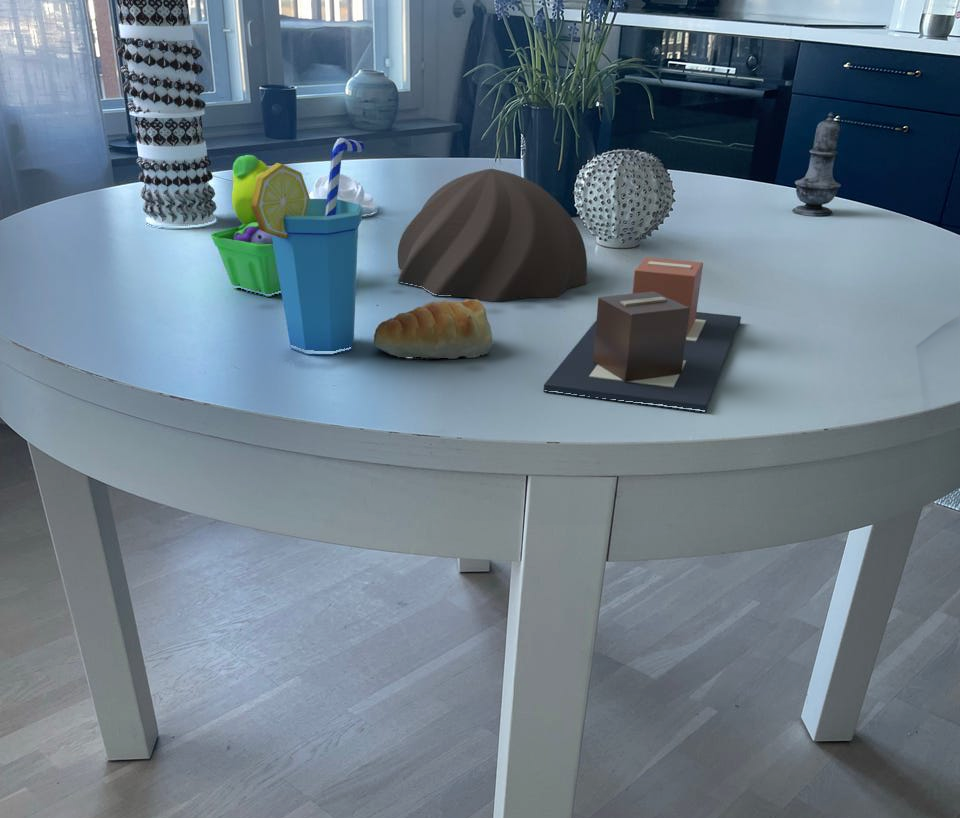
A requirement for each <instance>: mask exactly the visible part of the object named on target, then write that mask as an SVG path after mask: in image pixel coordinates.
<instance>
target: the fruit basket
mask: <svg viewBox="0 0 960 818" xmlns="http://www.w3.org/2000/svg"><path fill="white" fill-rule="evenodd" d="M269 168H270V167H269V166H268V165H267V164H266V163H265V162H263V160H260V159H258V157H257V156H255V155H252V154H245V155H241V156H238V157H237V158H235V160H234V162H233V164H232V184H233V185H232V191H231V203H232V208H233V211H234V214H235V215H236V217H237V218H238V220H239V221H240V222H241V225H239V226H238V225H237V226H234V227H231V228H226V229H223V230H219V231H216V232H215V231H214V232H212V233H210V238H211V239H212V241H213V244H214V246H215V247H216V248H217V251H218V254H219V255H220V258H221V261H222V263H223V265H224V266H223V267H224V268H225V271H226V274H227V276H228V279H229V281H230V283H231V286H232V285H234V286H241V287H243V288H247V289H251V290H254V291H259V292H262V293H265V294H272V293H275V292H278V291H281V288H280V282H279V276H278V270H277V264H276V258H275V252H274V246H273V241H272V235H271V234H269V233H266V232H264V231H261V230H260V228H259V225H258V222H257V220H256V217H255V215H254V212H253V209H252V207H251V203H252V198H253V194H254V190H255V186H256V181H257V177H258V176H259V175H261V174H262V173H263V172H265V171H266V170H267V169H269ZM234 290H238V289H237V288H234ZM246 292H247V293H249V292H248V291H246ZM250 293H251V294H253V293H252V292H250ZM254 294H255V295H257V294H256V293H254ZM259 295H262V294H259ZM279 295H282V293H280V294H277V295H276V296H279ZM262 296H263V295H262ZM274 296H275V295H273V296H265V297H267V298H270V297H274Z"/></svg>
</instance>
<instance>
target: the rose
mask: <svg viewBox="0 0 960 818" xmlns="http://www.w3.org/2000/svg"><path fill="white" fill-rule="evenodd" d="M329 175H330V174H326V175H324V176H320V177H319V178H317V179H316V181H315V183H314V184H313V187H312V190H311V191H310V193H308V194H309V197H310V199H327V194H328V184H329ZM337 199H338V200H342V201H347V202H351V203H355V204H359V205H361V206H362V215H364V214H371V213H373V212H376V211H377V212H378V209H379V205H378V204H377V203H376V202H373V195H371V194H369V193H367V192H365V190H364V187H363V185H362V184H361V183H360V182H359V181H358V180H357V179H356V178H354V177H353V178H352V177H351V176H348V175H346V174H342V173H340V178H339V187H338V196H337ZM377 212H376V213H374V214H372V215H368V216H362V218H365V217H371V216H374V215H376V214H377Z"/></svg>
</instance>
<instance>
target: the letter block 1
mask: <svg viewBox="0 0 960 818" xmlns="http://www.w3.org/2000/svg"><path fill="white" fill-rule="evenodd" d="M703 267H704V262H703V261H702V262H701V261H693V260H692V261H690V260H680V259H671V258H670V259H669V258H658V257H650V256H649V257H648V256H646V257H644V258H643V260H642V261H641V262H640V263H639V265H638V266H637V267H636V268H635V269H634V274H633V282H632V293H631V294H633V293H643V292H653V291H654V292H657V293H659V294H661V295H663V296H665V297H667V298H669V299H672V300H674V301H676V302H678V303H680V304H682V305H684V306H686V307H689V308H690V313H689V320H688V328H687V335H688V334H689V332H690V330H691V328H692V326H693V324H694V322H695V319H696V312H698V304H699V297H700V296H699V295H700V290H701V282H702V274H703ZM687 335H686V337H687Z"/></svg>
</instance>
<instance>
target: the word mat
mask: <svg viewBox="0 0 960 818" xmlns="http://www.w3.org/2000/svg"><path fill="white" fill-rule="evenodd" d="M741 320H742V316H740V315H730V314H722V313H711V312H701V311H697V312H696V319H695V322H694V324H693V326H692V328H691V330H690V332H689V334H688V335H687V337H686V343H685V350H684V358H683V365H682V373H681V374H677V375H670V376H662V377H655V378H648V379H640V380H633V381H624V380H622V379H620V378H619V377H617V376H616V375H614V374H612V373H611V372H609V371H608V370H606V369H604V368H603V367H601V366H599V365H598V364H596V363H595V362H593V356H594V344H595V332H596V320H595V321H594V322H593V324H592V325H591V326H590V327H589V329H588V330H587V331H586V332H585V334H583V336H582V337H581V338H580V339H579V341H577V343H576V345H575V346H574V347H573V348H572V349H571V350H570V352H569V353H568V355H567V356H566V357H565V358H564V359H563V360H562V362H561V363H560V364H559V366H558V367H557V368H556V369H555V370H554V371H553V373H552V374H550V375H551V376H550V377H549V378H548V379H547V380H546V381H545V383H544V384H543V392H544V393H550V394H557V395H565V396H571V397H572V396H573V397H579V398H588V399H596V400H604V401H609V402H610V401H611V402H617V403H618V402H619V403H625V404H632V405H633V404H634V405H640V406H641V405H642V406H649V407H657V408H666V409H672V410H681V411H688V412H695V413H702V414H703V413H704V414H705V413H706V412H702V411H695V410H687V409H679V408H672V407H664V406H656V405H648V404H641V403H633V402H643V403H653V404H663V405H667V406H677V407H683V408H692V409H700V410H706V411H707V410H708V407H709V404H710V402H711V399H712V396H713V394H714V392H715V389H716V386H717V384H718V381H719V378H720V376H721V373H722V371H723V368H724V365H725V363H726V360H727V357H728V355H729V353H730V350H731V347H732V345H733V343H734V340H735V337H736V334H737V332H738V329H739V327H740V325H741ZM716 383H717V384H716ZM715 385H716V386H715ZM714 388H715V389H714ZM544 390H547V391H544ZM548 391H558V392H563V393H556V392H548ZM564 393H571V394H577V395H571V394H564ZM712 393H713V394H712ZM579 395H585V396H579ZM587 396H590V397H587ZM594 397H598V398H594ZM602 398H606V399H602ZM710 398H711V399H710ZM610 399H616V400H610ZM618 400H624V401H618ZM625 401H633V402H625ZM709 401H710V402H709ZM708 403H709V404H708ZM707 406H708V407H707ZM706 408H707V409H706Z"/></svg>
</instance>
